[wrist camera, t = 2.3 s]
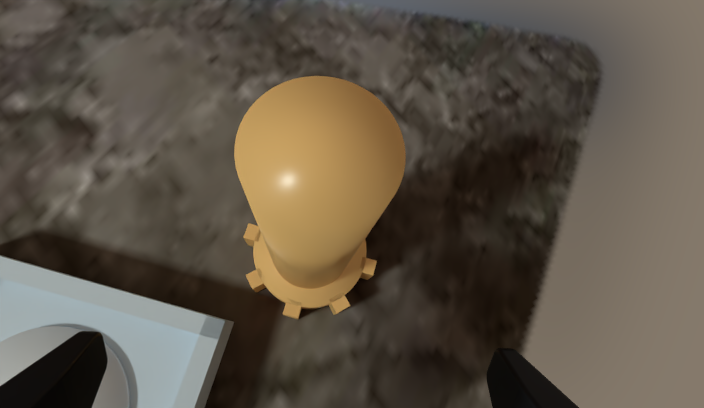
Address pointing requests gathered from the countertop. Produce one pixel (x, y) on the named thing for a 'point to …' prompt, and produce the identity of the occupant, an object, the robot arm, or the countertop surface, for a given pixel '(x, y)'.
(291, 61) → the countertop surface
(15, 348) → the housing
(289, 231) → the tan gear peg
